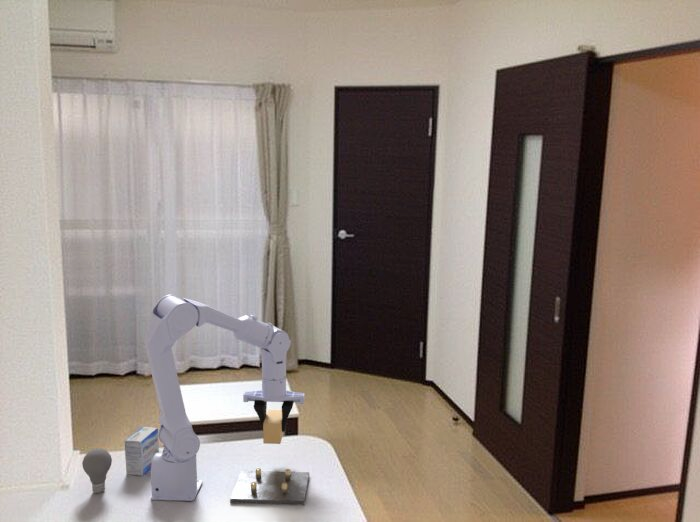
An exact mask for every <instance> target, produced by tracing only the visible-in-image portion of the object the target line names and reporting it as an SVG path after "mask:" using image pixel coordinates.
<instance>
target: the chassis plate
mask: <svg viewBox="0 0 700 522" xmlns="http://www.w3.org/2000/svg"><path fill="white" fill-rule="evenodd" d="M309 478H310V472H306V471H304V472H303V471H291V469H290V468H286V469H285V471H277V470H275V471H273V470H272V471H269V470H262V469H261V468H259V467H258V468H256V469H255V470H240V473H239V475H238V478H237V480H236V483H235V486H234V488H233V489H232V490H233V491H232V493H231V496H230V498H229V502H230V504H255V505H257V504H258V505H289V506H291V505H292V506H304V505H305V501H306V495H307V490H308V486H309V485H308V483H309Z"/></svg>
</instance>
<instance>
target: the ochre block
mask: <svg viewBox="0 0 700 522" xmlns="http://www.w3.org/2000/svg"><path fill="white" fill-rule="evenodd" d="M262 433H263V435H262V436H263V439H262V441H263V444H266V445H268V444H270V445H271V444H272V445H273V444H275V445H280V444H281V443H282V439H283V436H284V432H282V409H268V410H267V411H266V418H265V420H264V423H263V429H262Z"/></svg>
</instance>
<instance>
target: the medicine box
mask: <svg viewBox="0 0 700 522" xmlns="http://www.w3.org/2000/svg"><path fill="white" fill-rule="evenodd" d="M158 433H159V429H158V428H157V427H151V426H141V427H139V429H138V430H136V431H135V432H134V433H133V434H131V436H129V437H127V438H126V439H125V440H124V455H125V457H124V458H125V470H126V475H129V476H130V475H131V476H140V477H144V476H145V475H146V474H147V473H149V471H151V464H152V460H153V457H154V455H155V454H156V453H159V452H160V447H159V445H160V444H159V443H160V442H159V436H158Z"/></svg>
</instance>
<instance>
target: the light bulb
mask: <svg viewBox="0 0 700 522" xmlns="http://www.w3.org/2000/svg"><path fill="white" fill-rule="evenodd" d="M112 462H113V459H112V455H111V454H110V452H109V451H108V450H106V449H104V448H102V447H98V448H93V449H91V450H89V451H88V452H87V453H86V454H85V455H84V456H83V459H82V465H81V466H82V469H83V471H84V473H85V474H86V475H87V476H88V477H89V481H90V483H91V487H92V493H95V494H99V493H101V492H104V491H105V489H106V480H107V474H108V473H109V470H111V469H110V468H111V466H112Z"/></svg>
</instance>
